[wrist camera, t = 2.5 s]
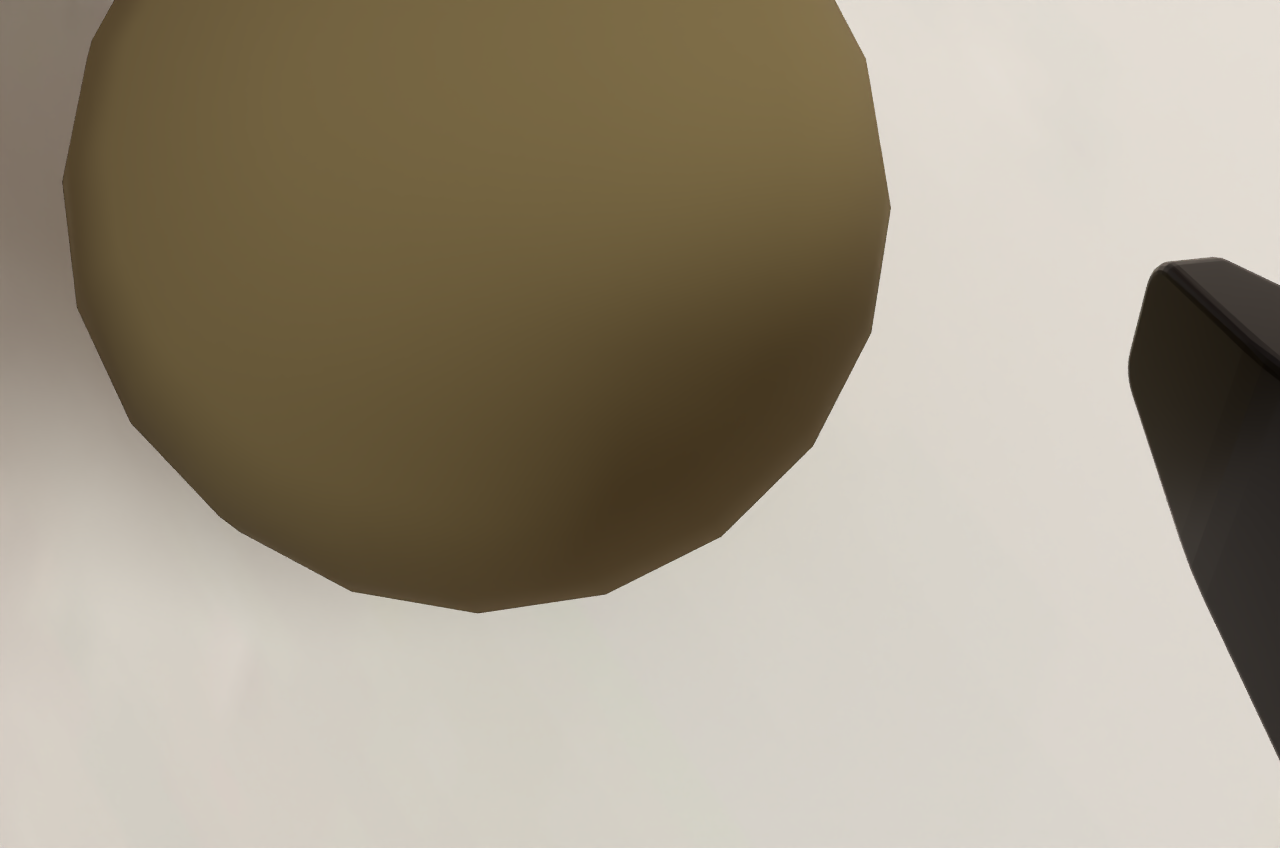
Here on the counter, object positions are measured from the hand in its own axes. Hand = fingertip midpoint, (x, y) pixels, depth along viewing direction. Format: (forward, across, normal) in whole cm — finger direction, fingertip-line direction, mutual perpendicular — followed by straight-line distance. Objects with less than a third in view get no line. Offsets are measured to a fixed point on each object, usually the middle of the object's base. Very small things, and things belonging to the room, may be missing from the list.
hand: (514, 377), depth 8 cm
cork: (+7, 0, +6) cm, 9 cm away
